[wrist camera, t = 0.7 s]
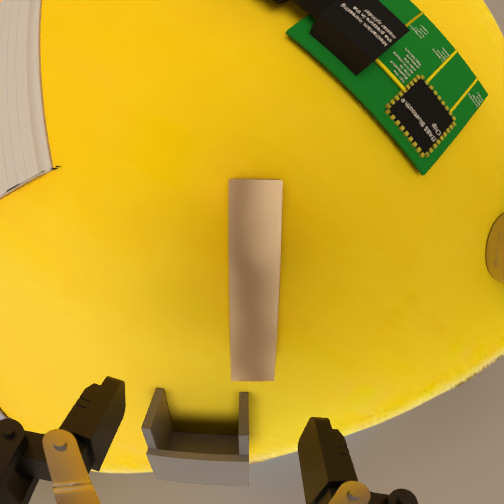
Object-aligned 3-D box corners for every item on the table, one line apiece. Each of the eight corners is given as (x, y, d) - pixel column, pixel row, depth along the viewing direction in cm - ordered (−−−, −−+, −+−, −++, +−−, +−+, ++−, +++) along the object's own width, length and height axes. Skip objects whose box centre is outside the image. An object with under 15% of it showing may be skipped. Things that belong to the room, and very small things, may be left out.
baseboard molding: (54, -30, 19) (-6, 14, 19) (45, -38, 16) (-17, 9, 17) (66, 165, 26) (0, 201, 27) (51, 166, 24) (-15, 204, 24)
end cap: (248, 392, 33) (248, 442, 25) (248, 439, 35) (249, 485, 27) (156, 387, 32) (138, 434, 25) (167, 435, 35) (156, 479, 27)
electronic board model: (517, 88, 18) (455, 177, 20) (479, 96, 24) (415, 174, 27) (305, -105, 12) (194, -54, 15) (297, -71, 19) (203, -17, 21)
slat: (276, 179, 27) (282, 180, 22) (270, 352, 32) (274, 380, 27) (232, 178, 27) (228, 179, 22) (233, 352, 32) (231, 380, 27)
